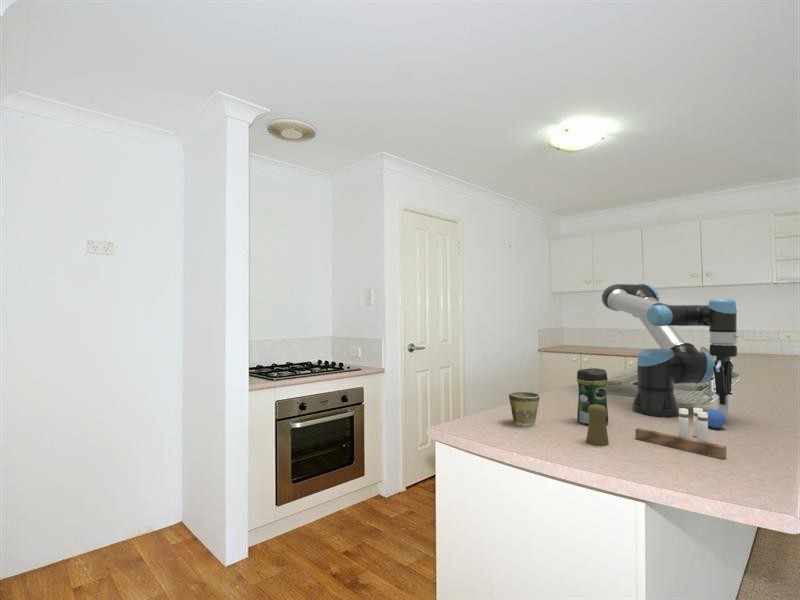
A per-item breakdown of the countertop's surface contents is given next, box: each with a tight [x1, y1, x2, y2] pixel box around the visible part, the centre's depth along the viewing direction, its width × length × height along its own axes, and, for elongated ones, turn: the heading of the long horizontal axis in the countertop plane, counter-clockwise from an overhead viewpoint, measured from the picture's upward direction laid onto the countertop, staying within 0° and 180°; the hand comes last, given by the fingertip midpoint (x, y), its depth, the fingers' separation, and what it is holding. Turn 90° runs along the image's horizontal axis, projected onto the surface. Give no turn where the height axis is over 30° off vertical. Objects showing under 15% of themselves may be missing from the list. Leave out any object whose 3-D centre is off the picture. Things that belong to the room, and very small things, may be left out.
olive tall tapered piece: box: [586, 404, 610, 447], centre depth 127 cm, size 6×6×11 cm
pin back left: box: [678, 407, 689, 438], centre depth 132 cm, size 2×2×9 cm
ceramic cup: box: [508, 391, 541, 428], centre depth 148 cm, size 13×10×10 cm
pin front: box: [692, 407, 704, 438], centre depth 133 cm, size 2×2×9 cm
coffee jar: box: [576, 367, 609, 426], centre depth 149 cm, size 10×8×19 cm
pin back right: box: [697, 410, 709, 443], centre depth 128 cm, size 2×2×9 cm
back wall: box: [635, 427, 727, 460], centre depth 123 cm, size 22×2×3 cm, turn 39°
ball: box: [705, 408, 727, 429], centre depth 142 cm, size 6×6×6 cm
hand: (724, 413), depth 148 cm, fingers closed
